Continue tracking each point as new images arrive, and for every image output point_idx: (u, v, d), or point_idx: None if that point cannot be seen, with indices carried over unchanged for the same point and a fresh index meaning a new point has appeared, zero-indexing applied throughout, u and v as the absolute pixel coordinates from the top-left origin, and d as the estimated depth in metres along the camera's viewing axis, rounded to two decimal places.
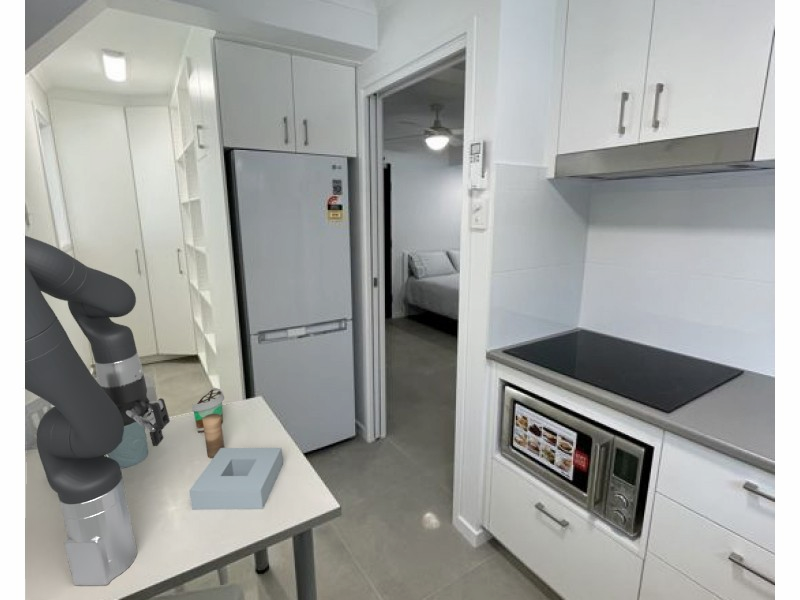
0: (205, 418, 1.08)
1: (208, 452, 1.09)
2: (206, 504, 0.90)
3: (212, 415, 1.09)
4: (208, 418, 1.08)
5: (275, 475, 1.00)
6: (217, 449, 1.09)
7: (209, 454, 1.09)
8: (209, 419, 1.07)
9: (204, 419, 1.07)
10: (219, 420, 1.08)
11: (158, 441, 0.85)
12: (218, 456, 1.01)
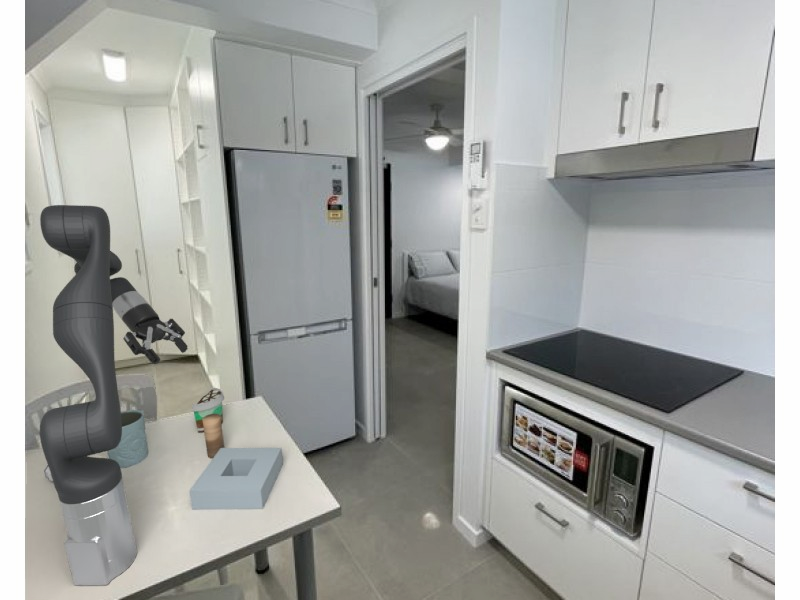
0: (205, 418, 1.08)
1: (208, 452, 1.09)
2: (206, 504, 0.90)
3: (212, 415, 1.09)
4: (208, 418, 1.08)
5: (275, 475, 1.00)
6: (217, 449, 1.09)
7: (209, 454, 1.09)
8: (208, 419, 1.07)
9: (204, 419, 1.07)
10: (219, 420, 1.08)
11: (186, 345, 1.13)
12: (218, 456, 1.01)
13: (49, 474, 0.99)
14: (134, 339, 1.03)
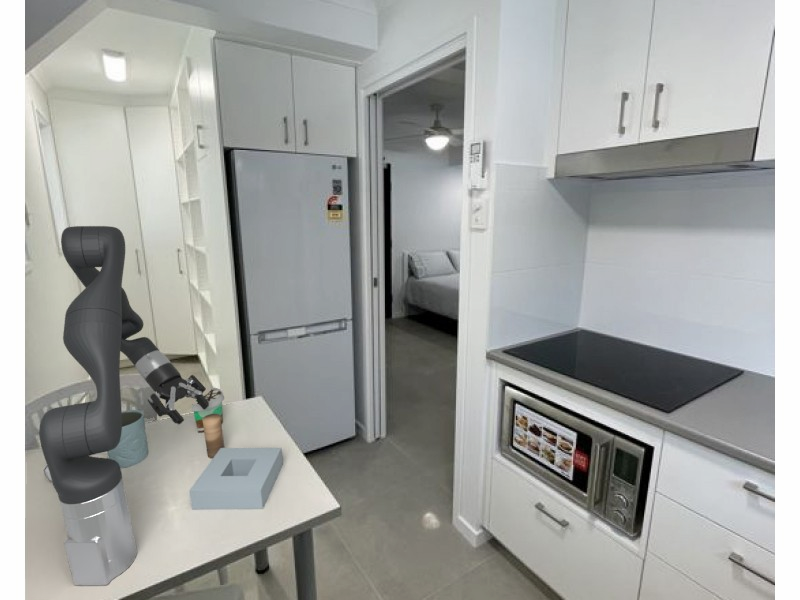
0: (205, 418, 1.08)
1: (208, 452, 1.09)
2: (206, 504, 0.90)
3: (212, 415, 1.09)
4: (208, 418, 1.08)
5: (275, 475, 1.00)
6: (217, 449, 1.09)
7: (209, 454, 1.09)
8: (208, 419, 1.07)
9: (204, 419, 1.07)
10: (219, 420, 1.08)
11: (207, 402, 1.15)
12: (218, 456, 1.01)
13: (49, 474, 0.99)
14: (158, 401, 1.05)
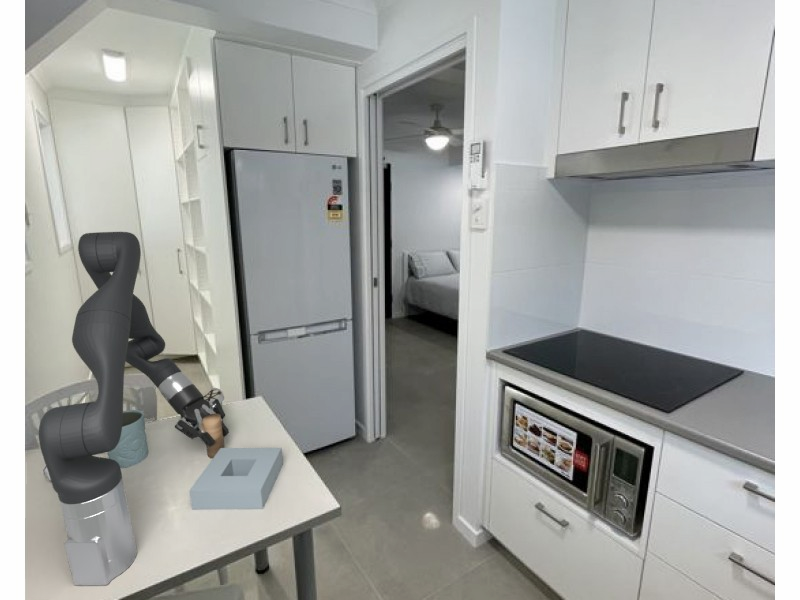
0: (205, 418, 1.08)
1: (208, 452, 1.09)
2: (206, 504, 0.90)
3: (212, 415, 1.09)
4: (208, 418, 1.08)
5: (275, 475, 1.00)
6: (217, 449, 1.09)
7: (209, 454, 1.09)
8: (209, 419, 1.07)
9: (204, 419, 1.07)
10: (219, 420, 1.08)
11: (227, 429, 1.12)
12: (218, 456, 1.01)
13: (48, 473, 0.99)
14: (188, 426, 1.04)
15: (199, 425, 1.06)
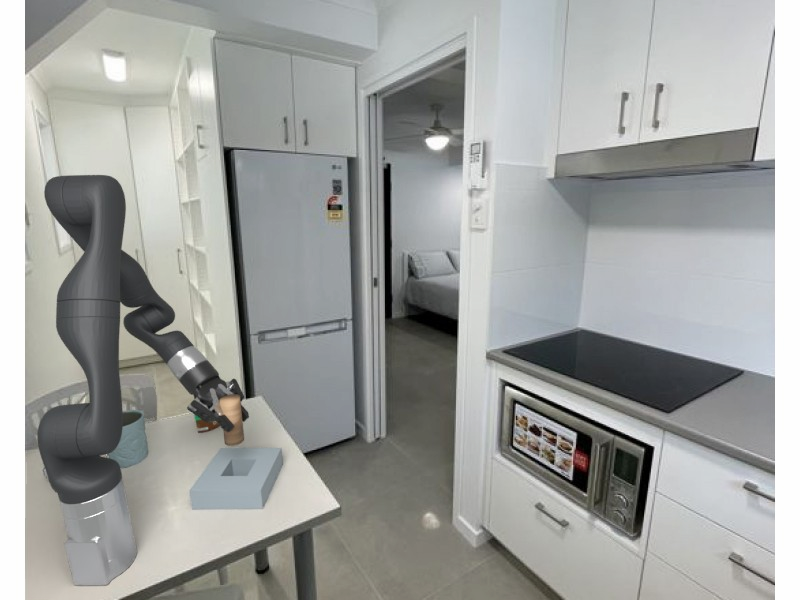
0: (222, 399, 0.92)
1: (226, 439, 0.93)
2: (206, 504, 0.90)
3: (230, 396, 0.94)
4: (226, 399, 0.93)
5: (275, 475, 1.00)
6: (236, 435, 0.93)
7: (227, 441, 0.93)
8: (227, 400, 0.92)
9: (221, 400, 0.92)
10: (239, 401, 0.93)
11: (247, 412, 0.97)
12: (218, 456, 1.01)
13: None
14: (202, 407, 0.89)
15: (215, 407, 0.91)
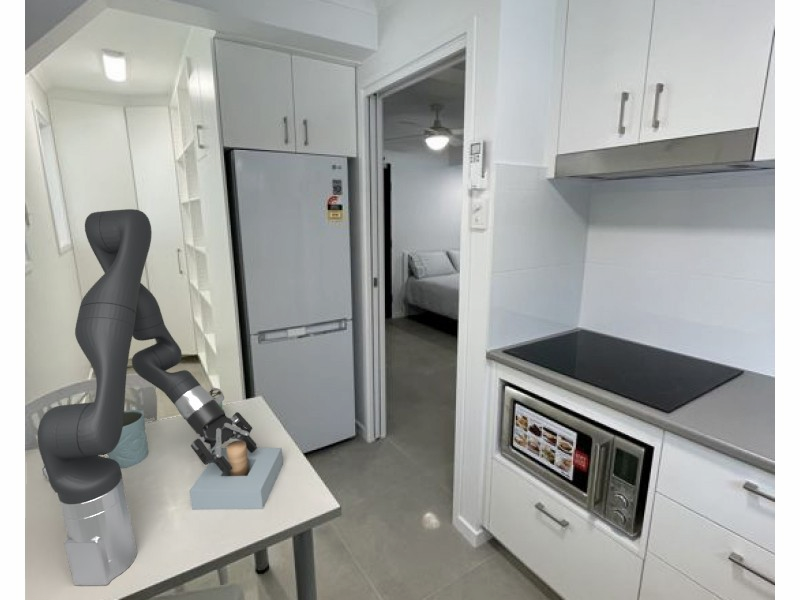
0: (229, 447, 0.95)
1: None
2: (206, 504, 0.90)
3: (236, 442, 0.97)
4: (232, 446, 0.95)
5: (275, 475, 1.00)
6: None
7: None
8: (233, 448, 0.94)
9: (228, 447, 0.95)
10: (245, 448, 0.96)
11: (255, 444, 1.00)
12: None
13: None
14: (204, 447, 0.90)
15: (216, 447, 0.92)
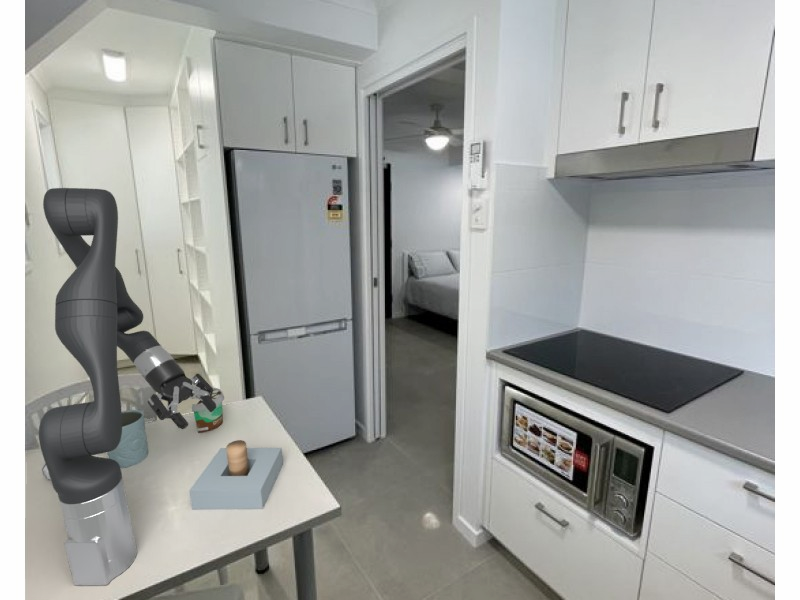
0: (229, 447, 0.95)
1: None
2: (206, 504, 0.90)
3: (237, 442, 0.97)
4: (232, 446, 0.95)
5: (275, 475, 1.00)
6: None
7: None
8: (233, 448, 0.95)
9: (228, 447, 0.95)
10: (245, 448, 0.96)
11: (214, 403, 1.02)
12: (218, 456, 1.01)
13: (47, 472, 0.99)
14: (160, 403, 0.92)
15: (173, 404, 0.94)
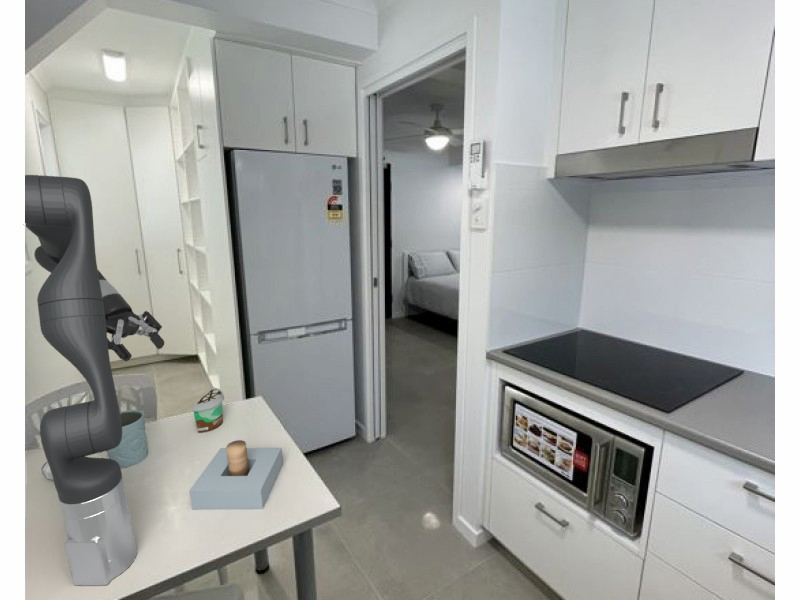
0: (229, 447, 0.95)
1: None
2: (206, 504, 0.90)
3: (236, 442, 0.97)
4: (232, 446, 0.95)
5: (275, 475, 1.00)
6: None
7: None
8: (233, 448, 0.94)
9: (228, 447, 0.95)
10: (245, 448, 0.96)
11: (163, 340, 1.00)
12: (218, 456, 1.01)
13: (46, 472, 0.99)
14: None
15: (115, 335, 0.92)
